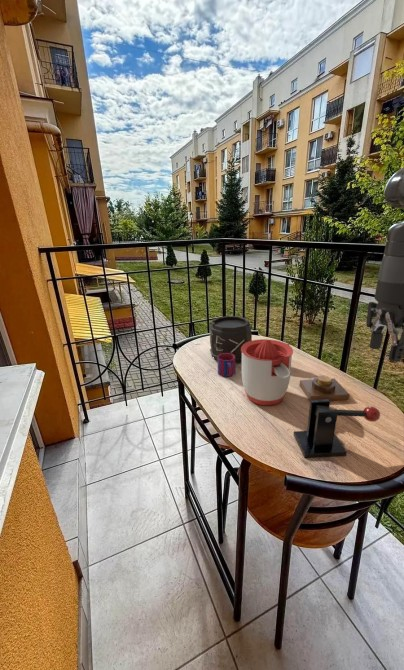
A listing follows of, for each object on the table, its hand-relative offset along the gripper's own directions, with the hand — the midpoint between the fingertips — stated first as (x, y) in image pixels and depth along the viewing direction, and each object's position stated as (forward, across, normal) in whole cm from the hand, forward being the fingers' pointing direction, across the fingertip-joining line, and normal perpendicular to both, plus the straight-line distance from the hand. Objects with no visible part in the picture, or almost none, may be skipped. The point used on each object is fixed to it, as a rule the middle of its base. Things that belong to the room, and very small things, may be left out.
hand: (384, 354), depth 62 cm
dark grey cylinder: (+25, +54, +28) cm, 66 cm away
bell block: (+25, +23, +1) cm, 34 cm away
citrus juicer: (+25, +22, +20) cm, 39 cm away
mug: (+25, +38, +31) cm, 55 cm away
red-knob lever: (+17, 0, +6) cm, 18 cm away
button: (+21, +23, +1) cm, 31 cm away
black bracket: (+25, 0, +12) cm, 27 cm away
